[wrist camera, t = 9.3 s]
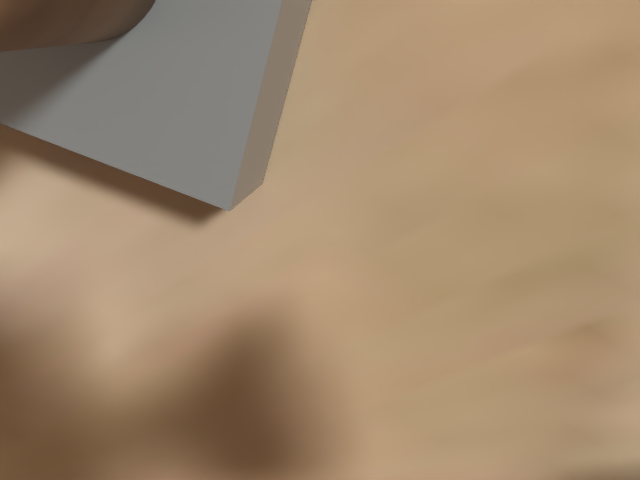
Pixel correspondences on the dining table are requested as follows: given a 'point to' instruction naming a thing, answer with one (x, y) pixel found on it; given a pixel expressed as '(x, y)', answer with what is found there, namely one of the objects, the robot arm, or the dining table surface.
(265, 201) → the dining table surface
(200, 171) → the tile
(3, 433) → the dining table surface
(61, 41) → the post
